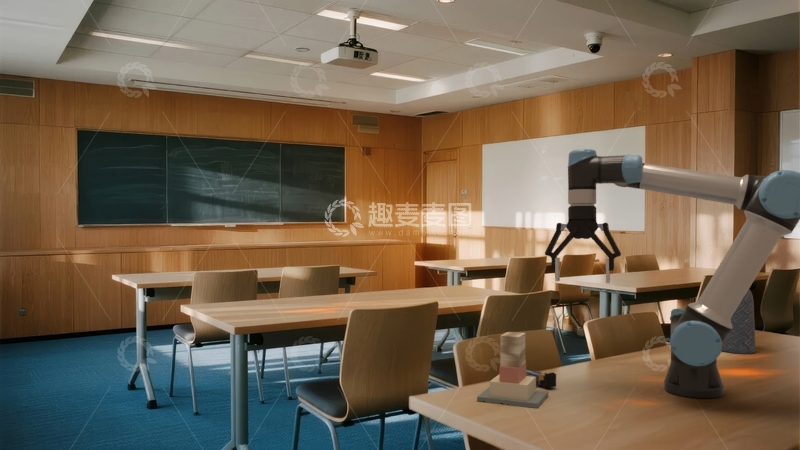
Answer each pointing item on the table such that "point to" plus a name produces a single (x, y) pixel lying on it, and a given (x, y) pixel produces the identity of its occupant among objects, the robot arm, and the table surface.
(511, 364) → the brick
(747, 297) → the vase
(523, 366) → the tiered block stack
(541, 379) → the brush
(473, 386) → the table surface
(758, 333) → the table surface
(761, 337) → the table surface
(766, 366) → the table surface
